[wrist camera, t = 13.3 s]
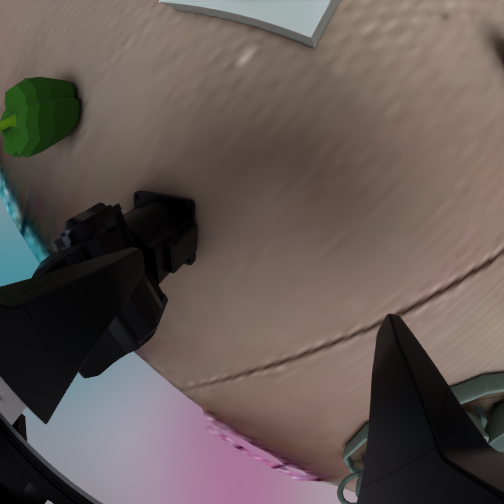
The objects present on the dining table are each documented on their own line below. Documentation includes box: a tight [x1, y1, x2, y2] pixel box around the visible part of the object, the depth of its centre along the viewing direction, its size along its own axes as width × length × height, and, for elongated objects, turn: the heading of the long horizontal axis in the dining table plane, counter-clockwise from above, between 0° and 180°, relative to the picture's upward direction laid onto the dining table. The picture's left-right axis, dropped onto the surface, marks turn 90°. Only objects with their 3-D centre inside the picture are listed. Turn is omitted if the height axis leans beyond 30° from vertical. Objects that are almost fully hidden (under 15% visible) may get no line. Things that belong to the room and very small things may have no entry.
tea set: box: [337, 373, 504, 504], centre depth 24 cm, size 40×40×16 cm
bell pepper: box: [0, 77, 80, 157], centre depth 18 cm, size 8×8×10 cm
